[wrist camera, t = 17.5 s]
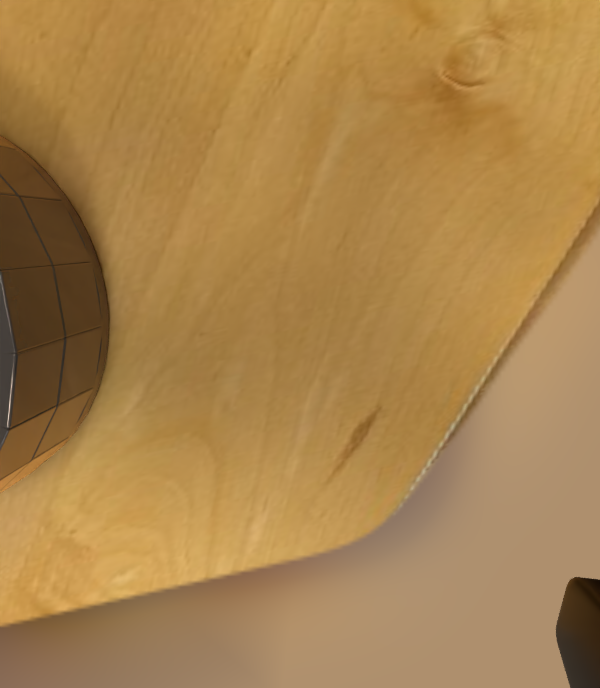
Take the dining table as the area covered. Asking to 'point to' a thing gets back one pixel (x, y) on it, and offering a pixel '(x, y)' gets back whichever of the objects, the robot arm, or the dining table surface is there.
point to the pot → (44, 317)
